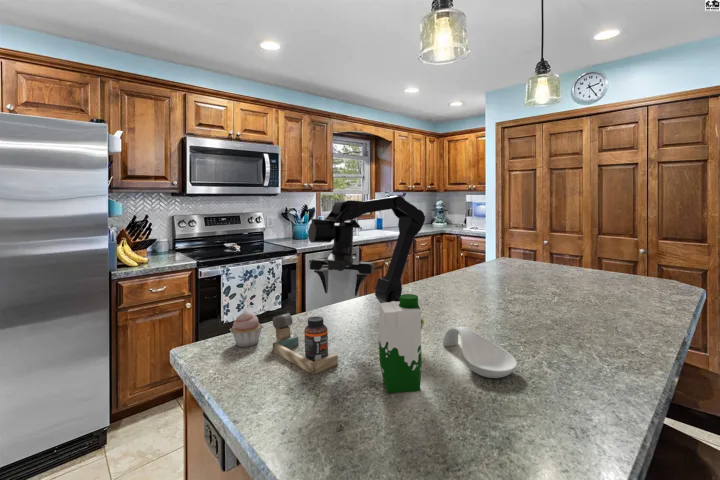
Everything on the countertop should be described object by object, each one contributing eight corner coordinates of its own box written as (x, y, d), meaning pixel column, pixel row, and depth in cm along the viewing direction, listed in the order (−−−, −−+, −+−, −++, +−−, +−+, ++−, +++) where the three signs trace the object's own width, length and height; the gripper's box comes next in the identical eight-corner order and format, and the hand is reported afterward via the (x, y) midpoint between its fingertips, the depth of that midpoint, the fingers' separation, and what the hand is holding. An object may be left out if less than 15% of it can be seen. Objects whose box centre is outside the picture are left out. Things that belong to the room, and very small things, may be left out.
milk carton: (425, 393, 78) (424, 301, 76) (383, 396, 77) (381, 303, 75) (415, 373, 87) (414, 291, 85) (377, 376, 86) (375, 292, 84)
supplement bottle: (324, 366, 92) (323, 322, 91) (302, 365, 93) (300, 321, 92) (331, 356, 98) (329, 315, 97) (309, 355, 99) (308, 314, 98)
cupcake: (253, 335, 115) (251, 304, 114) (269, 342, 109) (267, 309, 108) (225, 343, 109) (222, 310, 108) (239, 352, 102) (237, 317, 101)
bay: (337, 364, 93) (337, 354, 93) (312, 374, 88) (312, 364, 88) (296, 344, 107) (296, 335, 107) (273, 351, 102) (272, 343, 102)
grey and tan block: (295, 342, 108) (294, 313, 107) (280, 347, 105) (278, 317, 104) (289, 339, 111) (287, 310, 110) (273, 344, 108) (272, 314, 107)
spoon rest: (528, 380, 83) (529, 349, 82) (484, 389, 79) (484, 357, 79) (466, 342, 105) (466, 318, 105) (430, 348, 102) (430, 323, 101)
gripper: (303, 242, 104) (301, 297, 105) (368, 246, 100) (366, 303, 101) (316, 240, 114) (315, 289, 115) (375, 243, 110) (373, 295, 111)
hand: (341, 294), depth 110 cm, fingers open, 9 cm apart
